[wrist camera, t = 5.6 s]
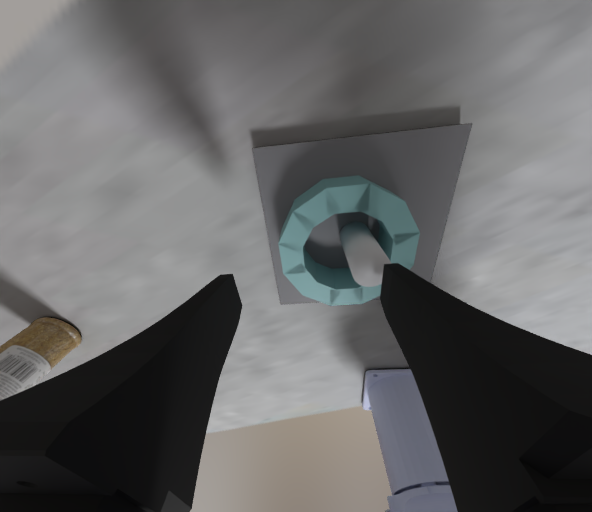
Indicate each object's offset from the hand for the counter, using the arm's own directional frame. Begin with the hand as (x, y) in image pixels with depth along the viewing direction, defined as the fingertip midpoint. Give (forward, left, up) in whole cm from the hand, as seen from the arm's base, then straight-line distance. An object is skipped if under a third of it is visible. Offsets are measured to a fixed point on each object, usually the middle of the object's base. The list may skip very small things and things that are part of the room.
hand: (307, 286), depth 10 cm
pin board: (-3, 0, -6) cm, 7 cm away
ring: (-2, 0, -5) cm, 6 cm away
